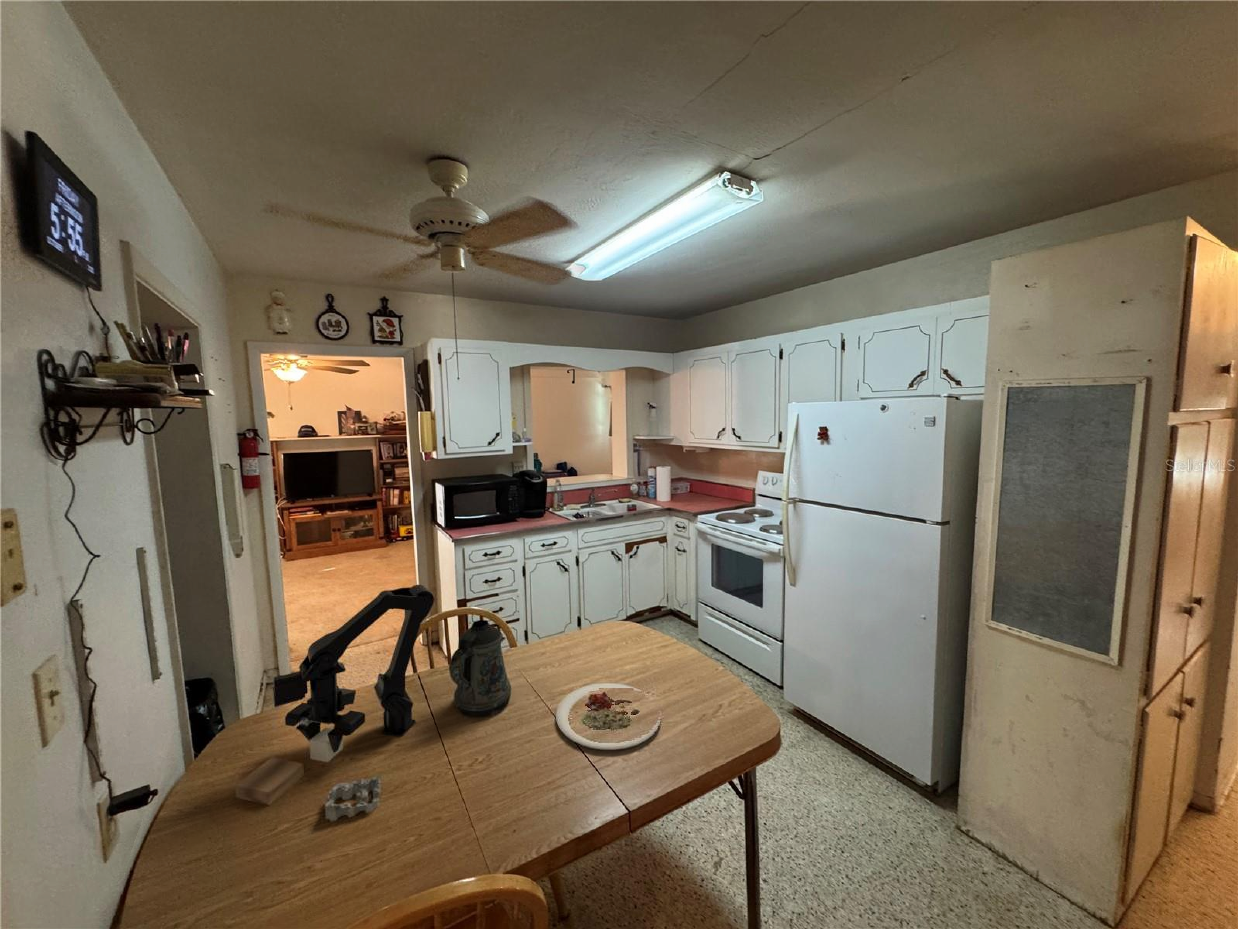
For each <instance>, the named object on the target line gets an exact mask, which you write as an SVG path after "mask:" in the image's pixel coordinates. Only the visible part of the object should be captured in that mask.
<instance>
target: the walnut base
mask: <svg viewBox="0 0 1238 929" xmlns="http://www.w3.org/2000/svg"><path fill="white" fill-rule="evenodd" d="M304 768H305V767H304V763H301V762H297V761H291V760H287V759H286V760H285V759H281V758H276V757H270V758H269V759H267V760H266V761H265V762H264V763H263V764H261V765H260V766H258V767H257V768H255V770H253V771H252V772H251V773H249V774H248V775H247V776H246V777H244V778H243V779H242V780H240V781H238V783H237V784H235V798H237V799H241V800H246V801H250V802H255V803H258V804H263V805H267V806H271V805H272V804H273V803H274V802H275V801H276V800H277V799H279V798H280V797H281V796H282V795H283V794H284V793H285V792H287V791H288V790H290V789H291V787H292V786H294V785H295V784H296V783H297V782H298V781H299V780H300V779H302V778H303V777H304V776H305V773H304V772H305V770H304Z"/></svg>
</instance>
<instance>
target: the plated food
mask: <svg viewBox="0 0 1238 929" xmlns="http://www.w3.org/2000/svg"><path fill="white" fill-rule="evenodd" d="M599 688H633V689H634V690H635V691H636V690H637V691H642V690H640V689H639V688H636V687H633V686H630V685H627V684H622V683H613V682H611V683H607V682H606V683H596V684H595V683H594V684H590V685H586V686H583V687H579V688H577V689H575V690H574V691H572V692H569V694H567V695H566V696H565V697H564V698H563V699H561V701H560V702H559V704H558V706H557V708H556V714H555V719H556V723H557V726H558V728H559V729H560V731H561V732H562V733H563V734H564V735H565V736H566V737H567V738H568V739H570V740H571V741H572V742H573V743H574V742H575V743H577V744H579V745H581V746H583V747H587V748H591V749H594V750H595V749H597V750H605V751H607V750H621V749H622V750H623V749H628V748H631V747H635V746H637V745H640V744H641V743H643V742H646V741H647V740H648V739H649V738H651V737H652V736H653V735H655V733H656V732H655V731H657V730H658V729H659V727H658V726H660V725H661V720H658V721H657V722H659V723H656V725H654V727H653V728H652V729H653V730H651V731H649V732H650V733H648V734H645V735H642V737H641V738H637V739H636V738H635V740H632V741H625V742H620V743H598V742H593V741H590V740H587V739H585V738H583V737H581V736H579V735H578V734H576V733H575V732H574V731H573V730H572V729H571V727H570V725H569V721H568V715H569V712H570V709H571V708H572V706H573V705H574V704H575V703H576V702H577V701H578V700H579V699H580V698H582V697H583V696H584V695H588V693H589V692H590V691H597V690H599ZM645 693H646V692H644V694H645ZM645 695H648V694H647V693H646V694H645ZM650 698H652V697H651V696H650ZM612 702H615V705H619V704H620V703H624V702H627V703H632V701H630V700H623V699H620V700H616V701H614V700H612V698H611V699H610V697H608V696H607V694H606V693H605V692H603V693H602V694H590V696H589V697H588V701H587V702H586V703H585V706H587V707H588V708H590V709H591V710H587V711H588V712H590V713H588V712H587V714H585V716H582V717H581V722H582V724H585V726H588V727H589V729H590V728H593V730H606V729H611V731H612V730H614V729H616V730H617V729H623V728H625V729H626V728H627V727H628V726H630V722H631V721H632V720H631V719H630V716H629V717H628V716H626V717H625V716H624V715H627V714H628V712H626V711H624V710H623V711H621V712H620V711H616V710H610V708H611V706H612V705H614V704H612ZM620 708H625V707H624V706H621V707H620ZM639 712H640V711H639V710H638V709H633V711H632V712H631V715H636V714H638V713H639ZM659 712H660V715H661V716H660V717H659V718H658V719H661V718H662V714H661V710H660V711H659ZM625 713H626V714H625ZM570 719H572V718H570ZM584 720H585V721H584ZM654 732H655V733H654Z"/></svg>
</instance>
